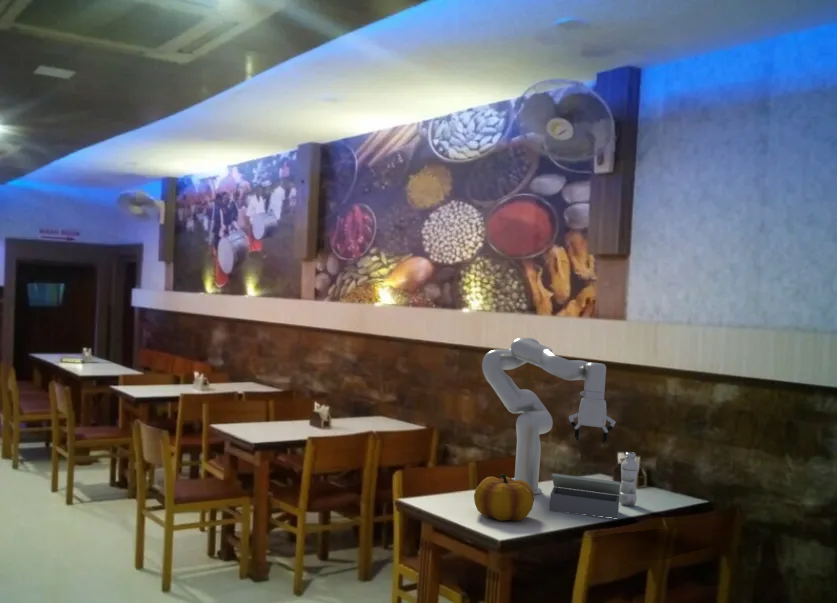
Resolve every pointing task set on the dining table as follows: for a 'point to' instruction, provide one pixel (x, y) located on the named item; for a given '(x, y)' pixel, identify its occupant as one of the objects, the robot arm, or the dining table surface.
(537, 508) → the dining table surface
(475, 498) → the decorative pumpkin
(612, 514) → the grey rectangular box
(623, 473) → the plastic bottle
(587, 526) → the dining table surface
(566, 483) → the cover
